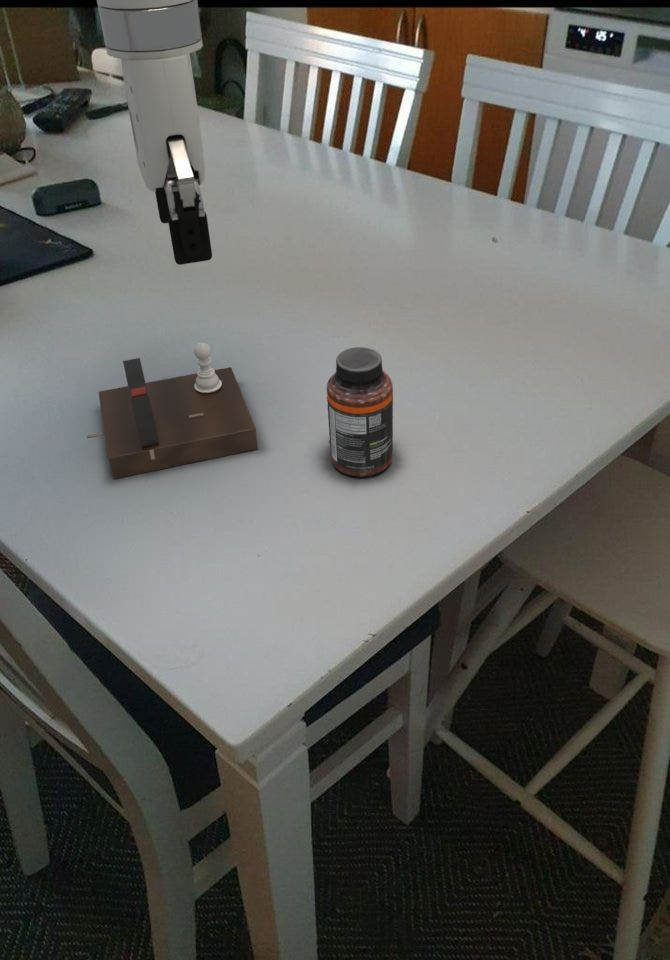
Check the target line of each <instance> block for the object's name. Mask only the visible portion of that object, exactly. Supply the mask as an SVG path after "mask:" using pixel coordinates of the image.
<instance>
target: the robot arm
mask: <svg viewBox="0 0 670 960" xmlns="http://www.w3.org/2000/svg"><path fill="white" fill-rule="evenodd" d="M96 4H97V9H98V14H99V20H100V24H101V25H100V26H101V30H102V35H103V41H104V45H105V52H106V54H107V56H109V57H112V58H115V59H119V60H120V61H121V70H122V77H123V78H122V79H123V84H124V91H125V98H126V103H127V109H128V114H129V115H128V116H129V120H130V126H131V131H132V137H133V143H134V150H135V155H136V161H137V166H138V168H139V171H140V174H141V176H142V180H143V183H144V185H145V187H146V188H147V189H148V190H149V191H151V192H152V193H153V192H154V193H155V199H156V205H157V210H158V211H157V212H158V215H159V220H160V222H161V223H162V224H168V228H169V229H168V230H169V235H170V240H171V241H170V242H171V247H172V252H173V258H174V261H175V264H177V265H179V266H181V265H187V264H193V263H194V264H195V263H200V262H207V261H210V260H212V258H213V252H212V250H213V249H212V244H211V237H210V228H209V221H208V215H207V213H206V212H205V207H204V202H203V198H202V192H201V188H200V186H201V185H202V184H203V183H204V181H205V180H206V171H205V161H204V160H205V158H204V148H203V140H202V131H201V126H200V125H201V123H200V116H199V108H198V101H197V95H196V94H197V93H196V88H195V81H194V74H193V68H192V60H191V54H193V53H195V52H198V51H199V50H201V49H202V48H203V47H204V44H203V43H204V42H203V35H202V27H201V19H200V11H199V10H200V9H199V2H198V0H96Z"/></svg>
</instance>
